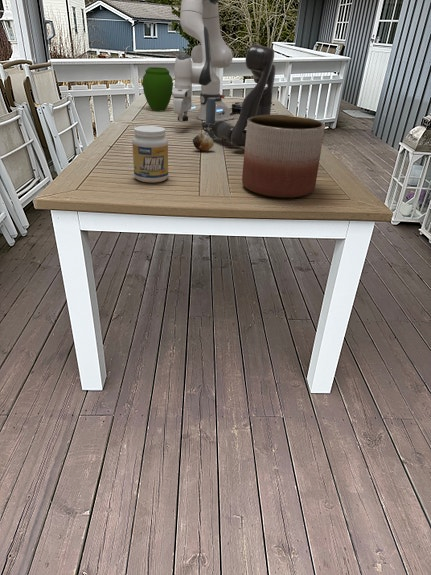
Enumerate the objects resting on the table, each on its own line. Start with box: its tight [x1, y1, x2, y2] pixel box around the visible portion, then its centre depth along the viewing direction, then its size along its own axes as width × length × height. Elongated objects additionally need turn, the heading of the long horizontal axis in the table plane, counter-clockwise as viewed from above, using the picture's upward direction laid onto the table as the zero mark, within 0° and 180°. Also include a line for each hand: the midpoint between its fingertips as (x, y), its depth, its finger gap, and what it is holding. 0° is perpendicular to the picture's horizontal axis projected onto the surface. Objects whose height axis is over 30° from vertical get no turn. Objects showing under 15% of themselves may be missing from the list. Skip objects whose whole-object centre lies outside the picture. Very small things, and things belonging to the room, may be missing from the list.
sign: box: [231, 101, 243, 115], centre depth 282 cm, size 19×3×30 cm
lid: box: [177, 115, 189, 122], centre depth 214 cm, size 6×6×2 cm
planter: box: [241, 114, 326, 199], centre depth 138 cm, size 25×25×22 cm
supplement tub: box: [131, 125, 169, 183], centre depth 142 cm, size 12×12×17 cm
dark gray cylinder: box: [204, 98, 216, 139], centre depth 202 cm, size 5×5×18 cm
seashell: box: [192, 131, 215, 152], centre depth 181 cm, size 10×6×8 cm, turn 97°
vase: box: [141, 66, 174, 112], centre depth 261 cm, size 20×20×24 cm
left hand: (183, 120), depth 215 cm, fingers closed on lid, 5 cm apart
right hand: (207, 123), depth 206 cm, fingers closed on dark gray cylinder, 4 cm apart
